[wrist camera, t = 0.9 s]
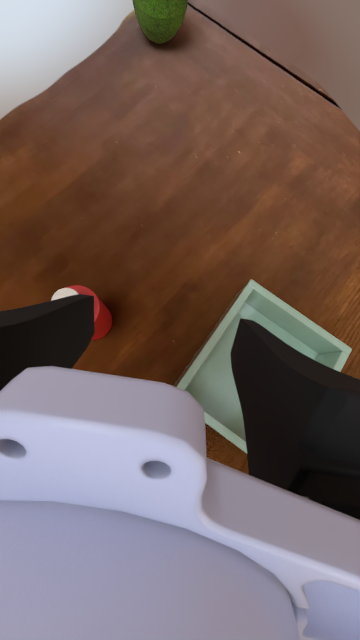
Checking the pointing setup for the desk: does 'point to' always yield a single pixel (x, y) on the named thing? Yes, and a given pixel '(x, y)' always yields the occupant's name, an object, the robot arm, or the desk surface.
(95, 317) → the bottle
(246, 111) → the desk surface
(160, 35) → the fruit
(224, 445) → the desk surface
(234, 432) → the tray
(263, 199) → the desk surface
